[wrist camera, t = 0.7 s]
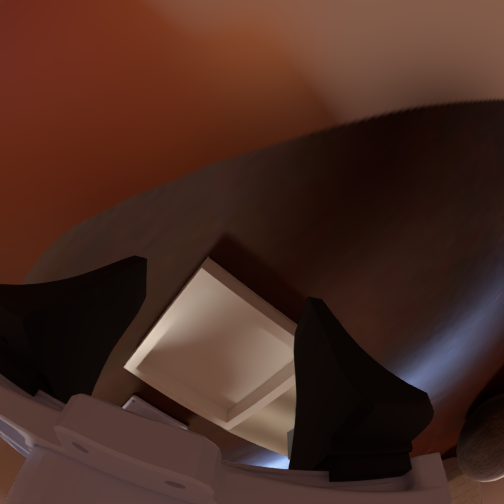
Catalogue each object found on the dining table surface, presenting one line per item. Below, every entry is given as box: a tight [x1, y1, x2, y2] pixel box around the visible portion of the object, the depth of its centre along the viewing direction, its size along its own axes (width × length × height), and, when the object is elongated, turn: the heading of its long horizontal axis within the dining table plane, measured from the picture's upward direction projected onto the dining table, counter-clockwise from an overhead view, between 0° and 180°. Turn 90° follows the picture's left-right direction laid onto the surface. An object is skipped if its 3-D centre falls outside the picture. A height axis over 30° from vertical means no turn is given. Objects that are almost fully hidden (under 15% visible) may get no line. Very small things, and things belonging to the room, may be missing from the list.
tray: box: [124, 257, 297, 430], centre depth 25 cm, size 14×13×2 cm
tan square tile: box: [223, 384, 296, 456], centre depth 26 cm, size 16×15×6 cm
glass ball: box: [456, 394, 504, 482], centre depth 22 cm, size 15×15×15 cm
